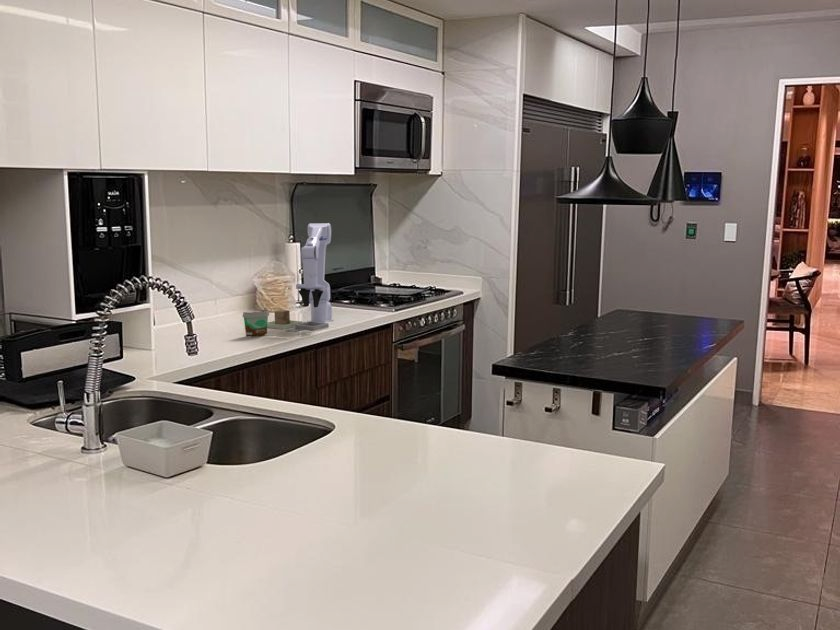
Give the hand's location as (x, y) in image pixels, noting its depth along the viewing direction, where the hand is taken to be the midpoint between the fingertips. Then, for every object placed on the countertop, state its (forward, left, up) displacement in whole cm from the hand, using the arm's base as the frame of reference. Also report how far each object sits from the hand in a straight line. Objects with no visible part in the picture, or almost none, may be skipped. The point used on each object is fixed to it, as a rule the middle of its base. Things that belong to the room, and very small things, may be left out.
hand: (311, 306), depth 351 cm
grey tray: (0, 0, -9) cm, 9 cm away
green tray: (+3, -14, -9) cm, 17 cm away
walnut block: (+3, -14, -9) cm, 17 cm away
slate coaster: (+9, -2, -9) cm, 13 cm away
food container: (+23, -9, -10) cm, 26 cm away
